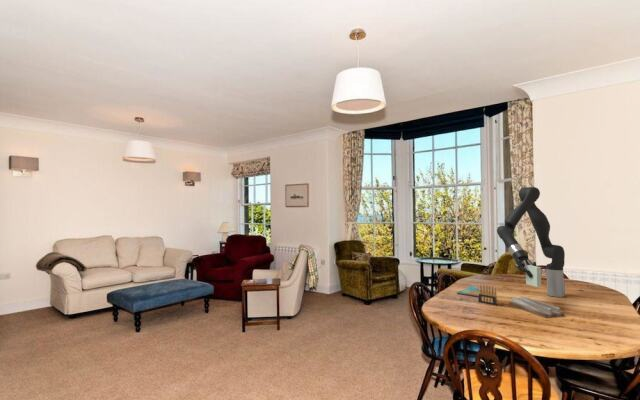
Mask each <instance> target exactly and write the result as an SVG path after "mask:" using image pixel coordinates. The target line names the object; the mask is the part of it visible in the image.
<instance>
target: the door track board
mask: <svg viewBox="0 0 640 400" xmlns="http://www.w3.org/2000/svg"><path fill="white" fill-rule="evenodd" d="M508 305H509V306H511V307H515V308H517V309H518V310H519V309H520V310H522V311H525V312H529V313H531V314H534V315H537V316H540V317H542V318H547V319H548V318H549V319H550V318H559V317H565V315H566V314H565V313H564V312H561V308H560V307H559V306H555V305H552V304H549V303H546V302H542V301H539V300H535V299H532V298H529V297H526V296H523V295H521V296H520V298H519V297H516V296H512V301H509V302H508Z"/></svg>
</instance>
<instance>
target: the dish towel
mask: <svg viewBox="0 0 640 400" xmlns="http://www.w3.org/2000/svg"><path fill="white" fill-rule="evenodd" d="M481 289H482V287H481ZM484 290H485V287H484ZM487 291H488V288H487ZM490 291H491V288H490ZM493 291H494V289H493ZM456 295H459V296H460V295H461V296H464V297H465V296H466V297H472V298H478V299H479V287H476V286H472V285H470V286H469V287H466V288H464V289H462V290H459V291H457V292H456Z"/></svg>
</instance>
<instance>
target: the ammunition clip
mask: <svg viewBox="0 0 640 400" xmlns="http://www.w3.org/2000/svg"><path fill="white" fill-rule="evenodd" d="M478 286H479V287H478V288H479V298H478V303H481V304H486V305H491V306H498V297H497V287H496V284H494V285H493V284H490V283H488V284H487V283H485V284H484V283H481V282H479V284H478ZM481 288H482V289H481ZM484 288H485V290H484ZM487 289H488V291H487ZM490 289H491V291H490ZM493 290H494V291H493Z"/></svg>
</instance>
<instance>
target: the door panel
mask: <svg viewBox="0 0 640 400" xmlns="http://www.w3.org/2000/svg"><path fill="white" fill-rule="evenodd" d="M527 266H528V269H529V271H530V272H531V273H532V275H533V277H532V278H530V277H529V276H528V275H527V273H525V284H526V285H528V286H532V287H536V288H541V287H542V272H541V271H542V269H541V268H542V267H541V266H537V265H536V266H532V265H527Z"/></svg>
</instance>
